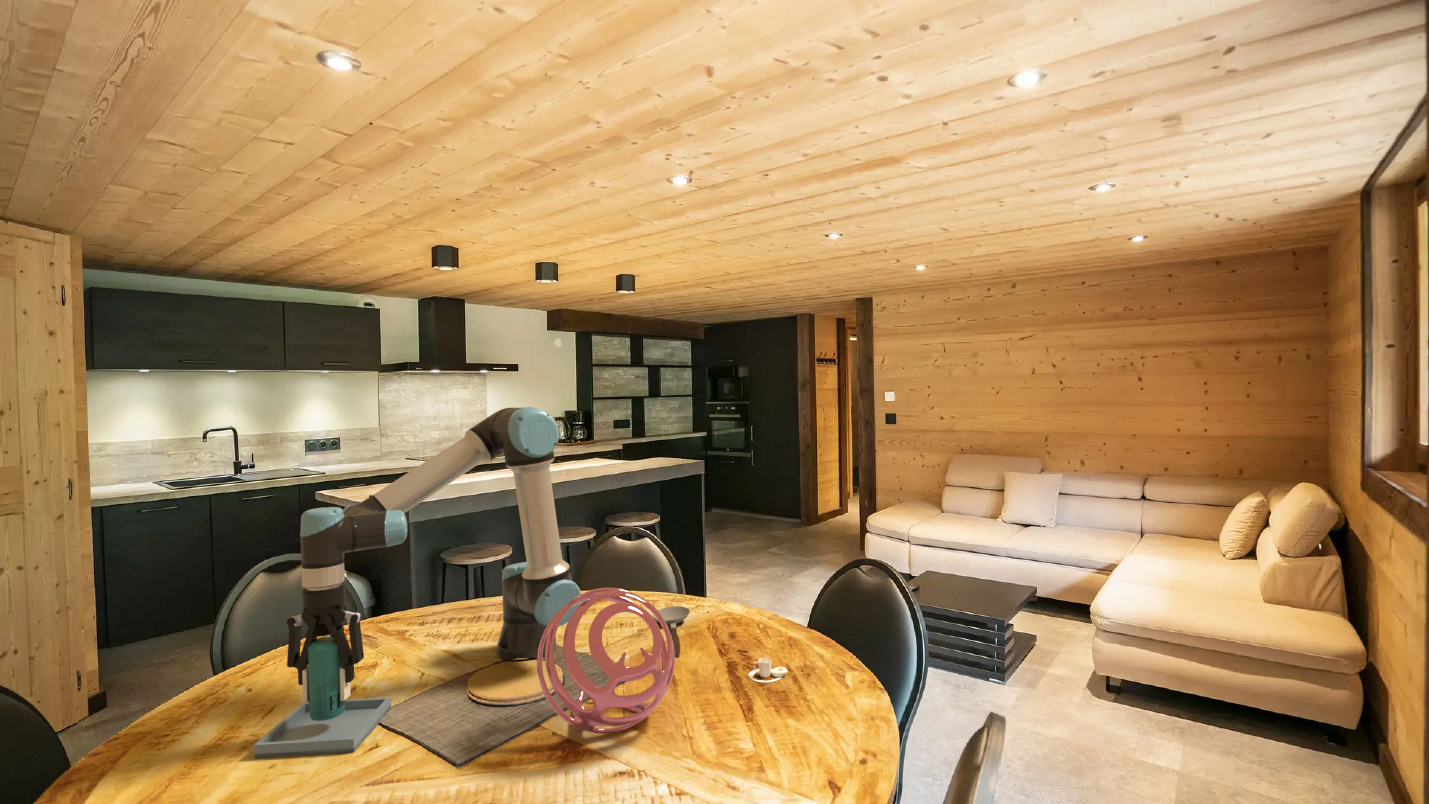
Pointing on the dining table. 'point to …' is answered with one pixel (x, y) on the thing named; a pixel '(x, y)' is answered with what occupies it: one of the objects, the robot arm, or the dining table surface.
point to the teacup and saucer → (767, 671)
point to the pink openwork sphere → (606, 664)
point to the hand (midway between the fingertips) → (327, 698)
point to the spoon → (674, 622)
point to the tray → (323, 730)
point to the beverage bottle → (324, 677)
